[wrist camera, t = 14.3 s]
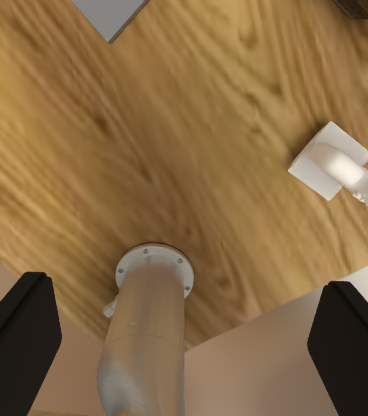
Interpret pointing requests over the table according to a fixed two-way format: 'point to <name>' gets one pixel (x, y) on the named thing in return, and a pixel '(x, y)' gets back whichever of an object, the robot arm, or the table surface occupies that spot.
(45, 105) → the table surface
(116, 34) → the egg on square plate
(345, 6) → the ceramic cup
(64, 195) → the table surface
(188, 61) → the table surface
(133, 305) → the robot arm
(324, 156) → the figurine
